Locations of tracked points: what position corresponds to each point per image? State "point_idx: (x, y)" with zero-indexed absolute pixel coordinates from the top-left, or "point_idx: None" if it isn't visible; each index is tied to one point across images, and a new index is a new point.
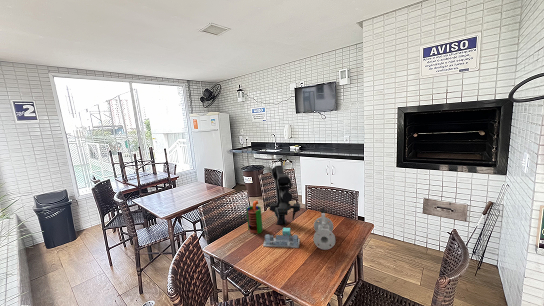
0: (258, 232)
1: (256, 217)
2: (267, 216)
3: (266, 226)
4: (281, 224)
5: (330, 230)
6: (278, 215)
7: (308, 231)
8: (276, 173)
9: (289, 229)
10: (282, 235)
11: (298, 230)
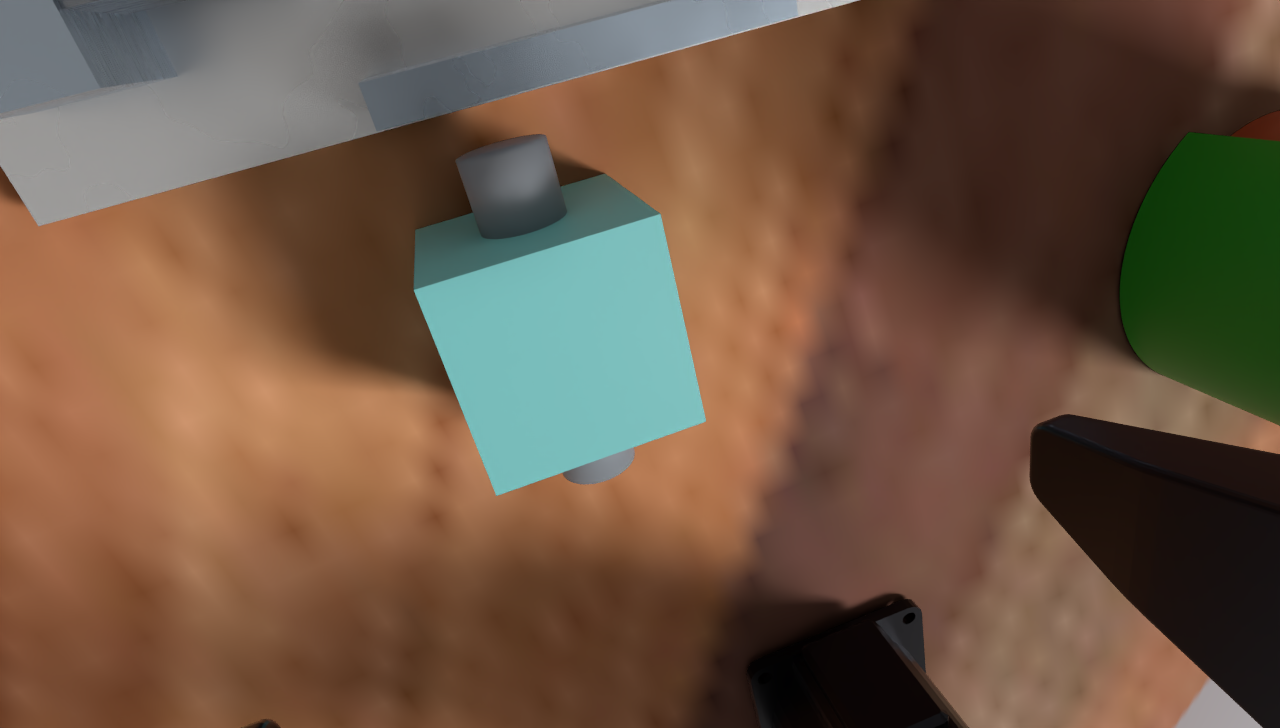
0: (1207, 146)
1: None
2: (1103, 723)
3: None
4: (818, 635)
5: None
6: (1242, 646)
7: (116, 685)
8: None
9: (476, 404)
10: (585, 61)
11: (380, 615)
